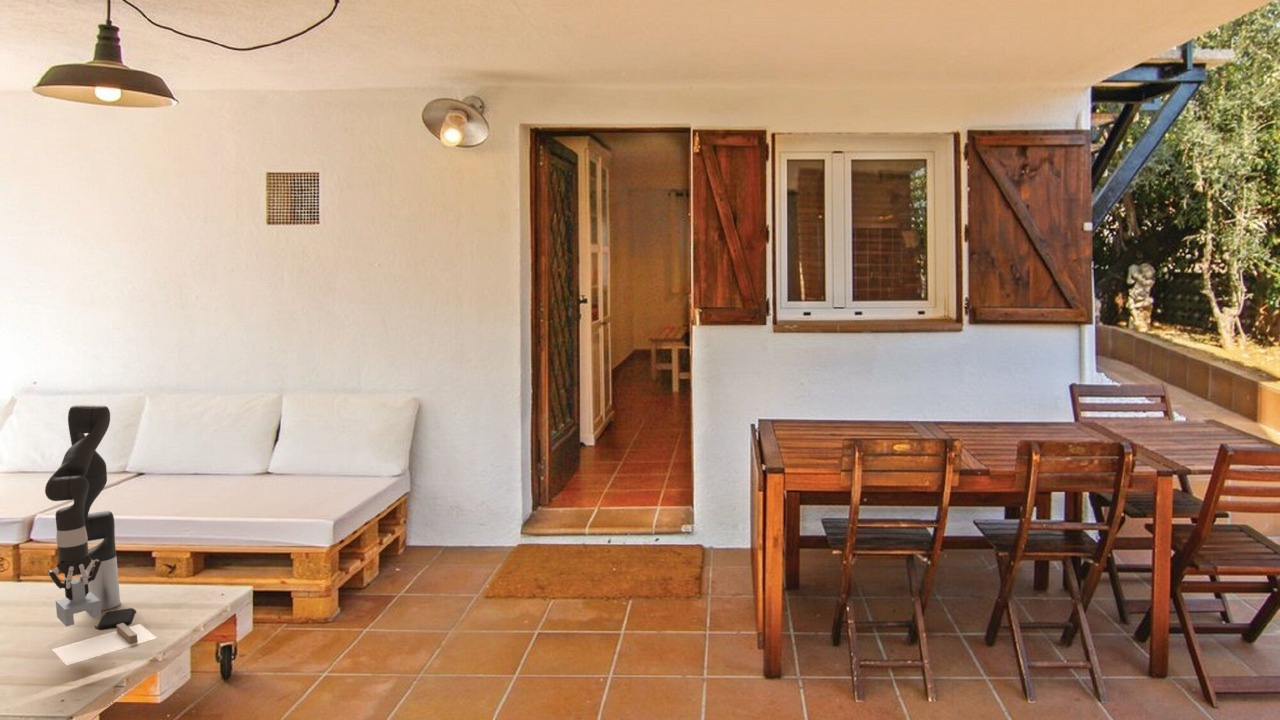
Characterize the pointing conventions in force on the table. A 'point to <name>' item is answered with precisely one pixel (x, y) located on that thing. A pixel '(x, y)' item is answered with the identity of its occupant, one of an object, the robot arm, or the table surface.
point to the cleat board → (103, 643)
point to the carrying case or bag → (116, 618)
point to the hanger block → (77, 604)
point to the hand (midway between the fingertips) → (77, 597)
